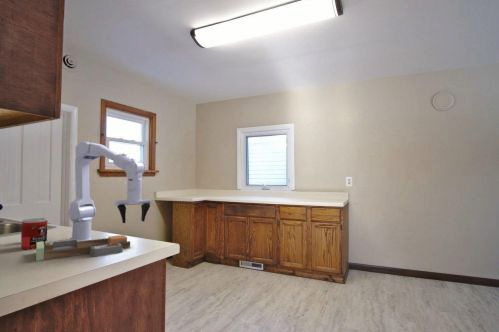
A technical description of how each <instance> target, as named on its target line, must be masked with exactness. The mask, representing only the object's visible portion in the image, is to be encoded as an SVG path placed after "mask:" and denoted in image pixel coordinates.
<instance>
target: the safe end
mask: <svg viewBox="0 0 499 332" xmlns="http://www.w3.org/2000/svg"><path fill="white" fill-rule="evenodd" d="M35 261H36V262H38V261H45V260H44V242H43V241H42V242H37V247H36V249H35Z"/></svg>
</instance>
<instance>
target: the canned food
mask: <svg viewBox="0 0 499 332" xmlns="http://www.w3.org/2000/svg"><path fill="white" fill-rule="evenodd" d="M44 218H45V217H39V218H34V217H33V218H26V219H23V220H22V221H21V233H20V235H21V237H20V247H21V248H20V249H22V250H25V251H26V250H29V251H30V250H36V247H37V242H42V241H43V242H44V245H46V241H45V235H46V220H47V219H46V218H45V219H44Z"/></svg>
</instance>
